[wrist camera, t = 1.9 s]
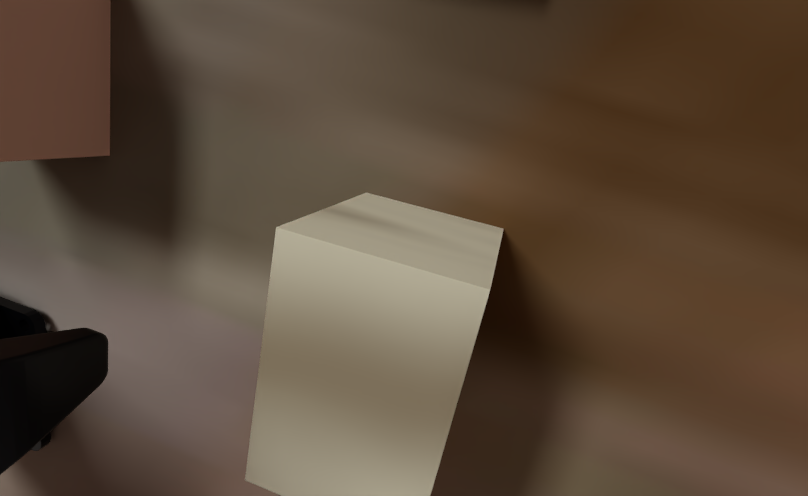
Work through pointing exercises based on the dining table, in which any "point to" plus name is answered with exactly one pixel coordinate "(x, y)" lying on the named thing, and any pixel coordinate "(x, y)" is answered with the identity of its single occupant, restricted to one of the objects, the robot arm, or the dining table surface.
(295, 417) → the birch brick
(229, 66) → the dining table surface
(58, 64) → the terracotta brick
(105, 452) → the dining table surface
